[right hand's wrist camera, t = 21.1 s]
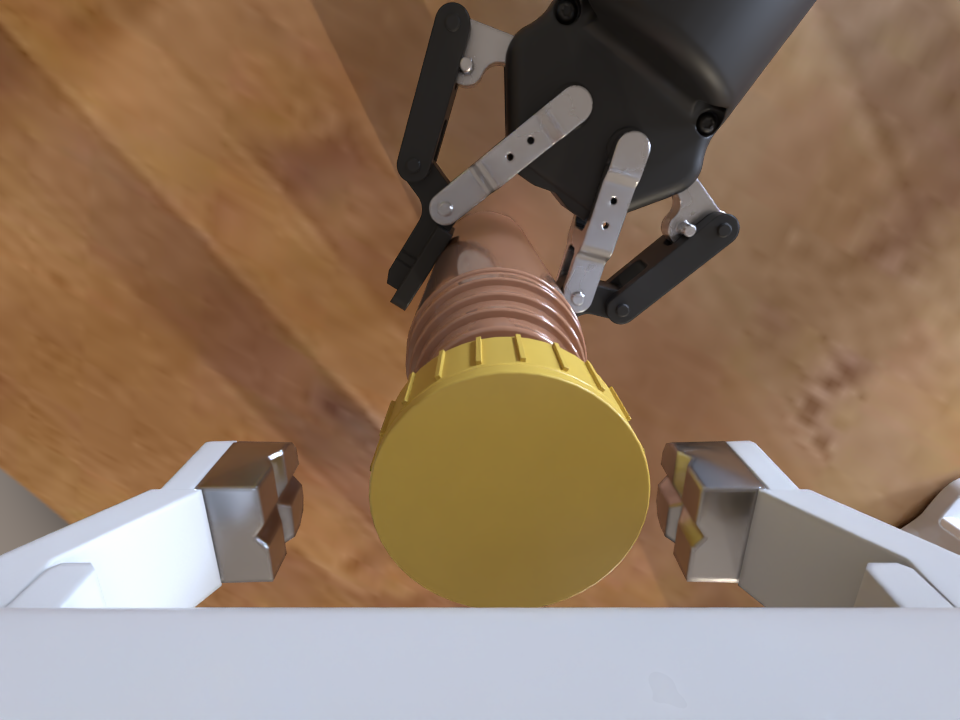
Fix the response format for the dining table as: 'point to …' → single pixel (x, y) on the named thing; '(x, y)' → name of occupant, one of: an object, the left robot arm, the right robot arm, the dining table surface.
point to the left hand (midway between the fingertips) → (454, 333)
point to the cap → (508, 475)
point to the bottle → (490, 294)
